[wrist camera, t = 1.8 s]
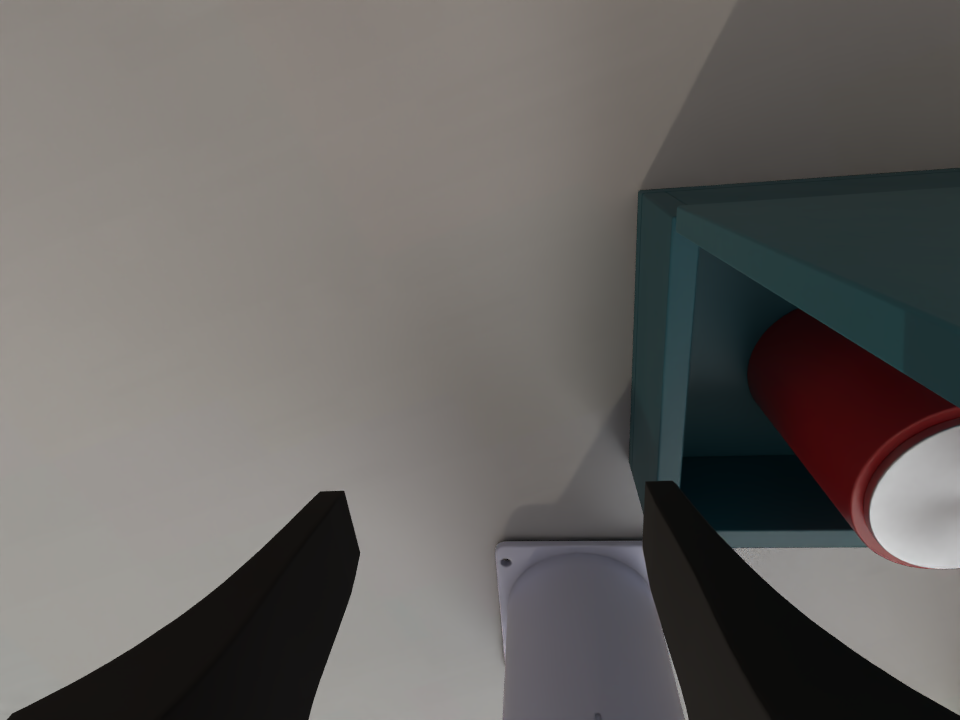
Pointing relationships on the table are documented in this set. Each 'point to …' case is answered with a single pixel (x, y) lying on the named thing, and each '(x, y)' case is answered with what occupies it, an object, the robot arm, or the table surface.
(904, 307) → the cool box lid
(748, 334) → the cool box
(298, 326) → the table surface
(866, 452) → the drink can
